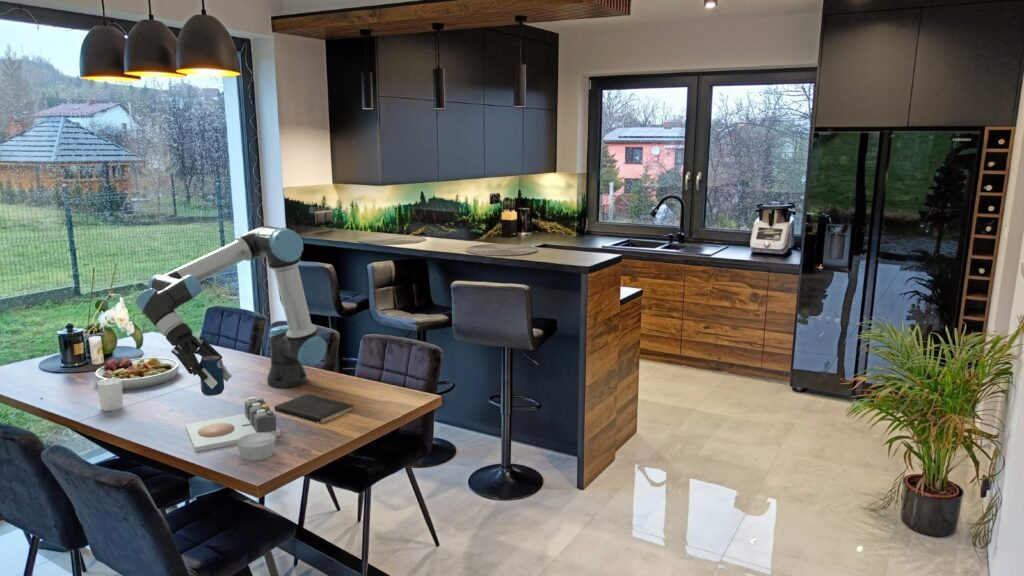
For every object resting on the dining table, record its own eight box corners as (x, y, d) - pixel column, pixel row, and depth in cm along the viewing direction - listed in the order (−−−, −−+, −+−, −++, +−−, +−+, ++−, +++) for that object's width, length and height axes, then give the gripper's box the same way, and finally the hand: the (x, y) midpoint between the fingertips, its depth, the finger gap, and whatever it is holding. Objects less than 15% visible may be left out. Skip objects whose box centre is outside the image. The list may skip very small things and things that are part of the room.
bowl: (194, 371, 305) (193, 353, 304) (147, 394, 276) (145, 374, 275) (131, 366, 310) (129, 349, 309) (78, 389, 281) (76, 369, 280)
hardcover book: (308, 399, 273) (308, 393, 273) (353, 411, 261) (353, 405, 261) (274, 412, 260) (274, 405, 259) (320, 425, 248) (320, 418, 248)
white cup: (100, 413, 255) (97, 386, 253) (98, 406, 262) (96, 379, 260) (125, 409, 259) (122, 382, 258) (123, 402, 266) (121, 376, 264)
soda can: (229, 391, 236) (227, 356, 234) (212, 397, 230) (210, 361, 228) (213, 388, 239) (211, 353, 237) (196, 394, 233) (194, 358, 231)
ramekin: (257, 466, 215) (256, 449, 214) (229, 459, 219) (228, 442, 218) (284, 452, 225) (283, 436, 224) (256, 445, 229) (256, 429, 228)
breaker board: (265, 414, 256) (264, 392, 254) (280, 435, 237) (279, 411, 236) (185, 428, 242) (183, 404, 241) (195, 451, 224) (193, 426, 222)
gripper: (188, 330, 244) (234, 380, 243) (146, 344, 225) (195, 399, 225) (201, 315, 242) (247, 366, 241) (159, 329, 223) (209, 384, 222)
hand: (222, 382), depth 233 cm, fingers closed on soda can, 7 cm apart
